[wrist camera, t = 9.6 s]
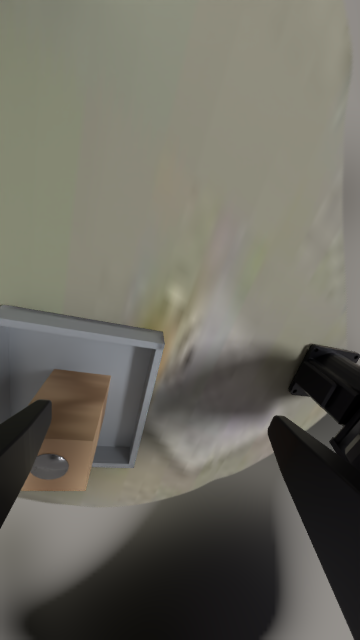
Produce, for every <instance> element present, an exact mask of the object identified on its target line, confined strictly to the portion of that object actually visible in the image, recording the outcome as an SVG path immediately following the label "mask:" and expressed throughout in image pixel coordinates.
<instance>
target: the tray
mask: <svg viewBox="0 0 360 640" xmlns="http://www.w3.org/2000/svg"><path fill="white" fill-rule="evenodd" d="M164 345H165V343H164V336H163V332H161V331H155V330H149V329H144V328H138V327H132V326H126V325H120V324H114V323H108V322H103V321H97V320H91V319H85V318H79V317H73V316H67V315H62V314H56V313H50V312H44V311H38V310H32V309H26V308H21V307H15V306H9V305H2V306H0V424H1V423H2V422H4V421H5V420H7V419H8V418H10V417H12V416H13V415H15V414H16V413H18V412H19V411H21V410H22V409H24V408H25V407H27V406H28V405H29V403H30V402H31V401H32V399H33V398H34V396H35V395H36V394H37V392H38V391H39V389H40V388H41V387H42V385H43V384H44V383H45V381H46V380H47V378H48V377H49V376H50V374H51V373H52V371H53V370H54V369H60V370H68V371H77V372H85V373H93V374H102V375H110V376H111V379H110V385H109V391H108V397H107V403H106V409H105V415H104V419H103V423H102V427H101V431H100V435H99V439H98V443H97V447H96V451H95V455H94V459H93V463H92V467H113V468H134V465H135V461H136V457H137V453H138V449H139V445H140V441H141V437H142V433H143V429H144V425H145V421H146V417H147V413H148V409H149V405H150V401H151V397H152V393H153V389H154V385H155V381H156V377H157V373H158V369H159V365H160V361H161V357H162V353H163V349H164Z"/></svg>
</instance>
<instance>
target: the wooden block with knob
mask: <svg viewBox="0 0 360 640" xmlns="http://www.w3.org/2000/svg"><path fill="white" fill-rule="evenodd" d="M110 379H111V376H110V375H102V374H93V373H85V372H77V371H68V370H60V369H54V370H53V371H52V373H51V374H50V376H49V377H48V378H47V380H46V381H45V383H44V384H43V385H42V387H41V388H40V389H39V391H38V392H37V394H36V395H35V396H34V398H33V399H32V401H31V402H30V403H29V405H30V404H32V403H33V402H35V401H36V400H39V399H44V400H51V402H52V419H51V423H50V426H49V428H48V431H47V433H46V436H45V438H44V441H43V443H42V445H41V448H40V450H39V453H38V455H37V457H36V460H35V462H34V465H33V467H32V469H31V471H30V473H29V475H28V477H27V479H26V481H25V483H24V485H23V487H22V489H21V491H86V487H87V483H88V479H89V475H90V471H91V467H92V463H93V459H94V455H95V451H96V447H97V443H98V439H99V435H100V431H101V427H102V423H103V419H104V415H105V409H106V403H107V397H108V391H109V385H110ZM29 405H28V406H29Z"/></svg>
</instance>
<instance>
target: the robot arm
mask: <svg viewBox="0 0 360 640" xmlns="http://www.w3.org/2000/svg"><path fill="white" fill-rule="evenodd" d="M359 358H360V355H359V354H358V353H356V352H353V351H348V350H342V349H337V348H332V347H326V346H321V345H312V346H311V347H310V349H309V351H308V353H307V355H306V356H305V358H304V360H303V362H302V364H301V366H300V368H299V370H298V372H297V374H296V376H295V378H294V380H293V382H292V384H291V386H290V388H289V392H290V393H291V394H292V395H300V396H308V397H311V398H312V399H313V400H314V401H315V402H316V403H317V404H318V405H319V406H320V407H322V408H323V409H324V410H325V411H326V412H327V413H328V414H329V415H330V416H331V417H332V418H333V419H334V420H335V421H336V422H337V423H338V424H340V425H341V426H343V428H342V429H341V430H340V431H339V432H338V434H337V435H336V436H335V437H333V438H332V439H331V440H330V441H329V442H330V444H331V445H332V447H333V449H334V450H335V452H336V453H335V452H333V451H332V450H331V449H329V448H328V447H327V446H325V445H324V444H322V443H321V442H319V441H318V440H317V439H315V438H314V437H313V436H311V435H310V434H308V433H307V432H306V431H304V430H303V429H302V428H300V427H299V426H297V425H296V424H295V423H293V422H292V421H290V420H289V419H288V418H286V417H285V416H277V415H276V416H274V417H273V419H272V421H271V423H270V426H269V428H268V436H269V439H270V442H271V445H272V448H273V451H274V454H275V456H276V459H277V462H278V465H279V468H280V471H281V473H282V476H283V478H284V481H285V483H286V485H287V487H288V490H289V492H290V494H291V496H292V499H293V501H294V503H295V506H296V508H297V510H298V512H299V515H300V517H301V519H302V522H303V524H304V526H305V529H306V531H307V533H308V535H309V538H310V540H311V542H312V544H313V547H314V549H315V551H316V553H317V556H318V558H319V560H320V563H321V565H322V567H323V570H324V572H325V574H326V576H327V579H328V581H329V583H330V586H331V588H332V590H333V592H334V595H335V597H336V599H337V601H338V604H339V606H340V608H341V611H342V613H343V615H344V617H345V619H346V622H347V624H348V626H349V629H350V631H351V633H352V636H353V638H354V640H360V366H359V365H358V364H356V363H357V361H358V359H359ZM51 419H52V402H51V400H44V399H39V400H36V401H35V402H33V403H32V404H30V405H29V406H27V407H25V408H24V409H22V410H21V411H19V412H18V413H16V414H15V415H13V416H12V417H10V418H8V419H7V420H5V421H4V422H2V423H1V424H0V528H1V526H2V525H3V523H4V521H5V519H6V517H7V515H8V513H9V511H10V509H11V508H12V505H13V504H14V502H15V500H16V498H17V496H18V494H19V493H20V491H21V489H22V487H23V485H24V483H25V481H26V479H27V477H28V475H29V473H30V471H31V469H32V467H33V465H34V462H35V460H36V457H37V455H38V453H39V450H40V448H41V445H42V443H43V441H44V438H45V436H46V433H47V431H48V428H49V426H50V423H51Z"/></svg>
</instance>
